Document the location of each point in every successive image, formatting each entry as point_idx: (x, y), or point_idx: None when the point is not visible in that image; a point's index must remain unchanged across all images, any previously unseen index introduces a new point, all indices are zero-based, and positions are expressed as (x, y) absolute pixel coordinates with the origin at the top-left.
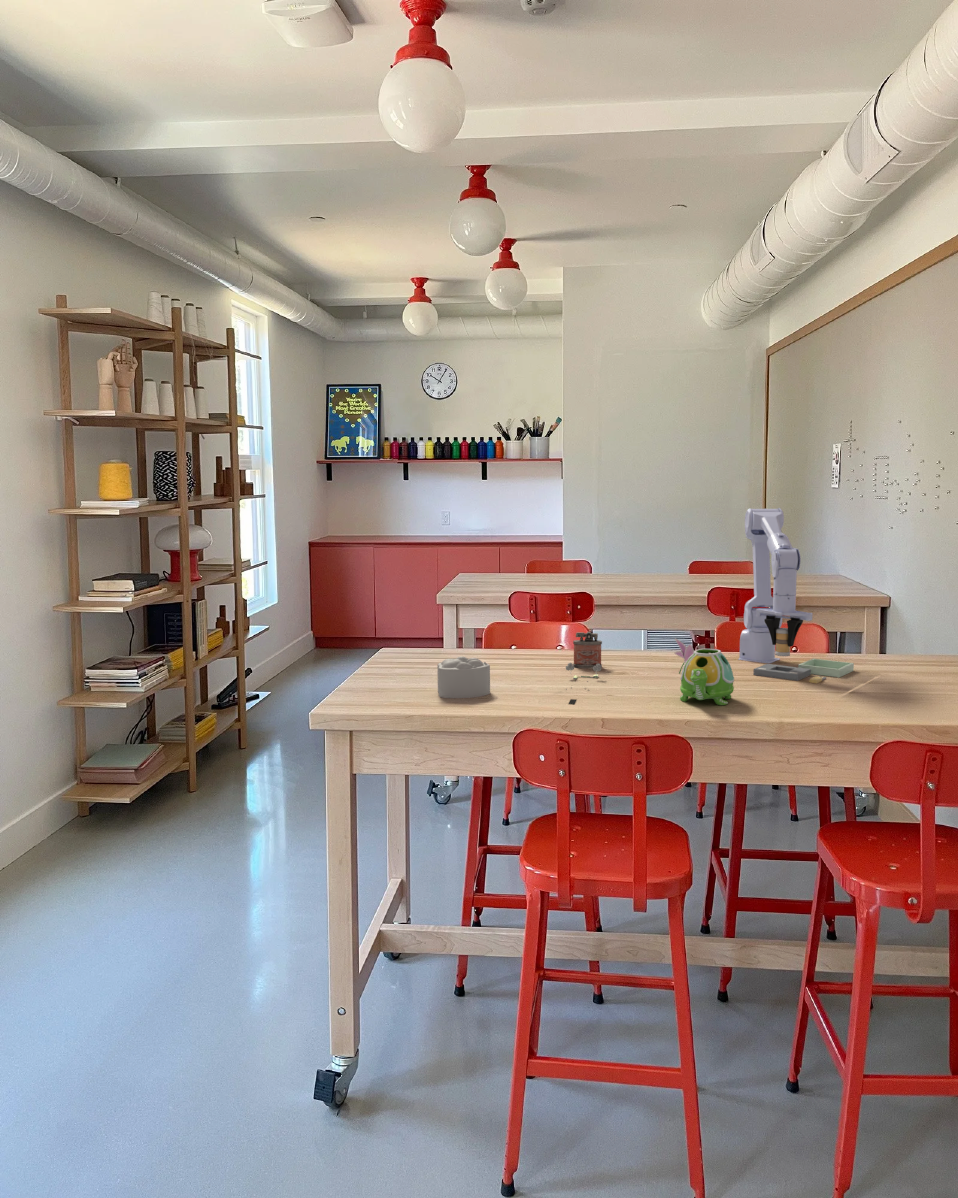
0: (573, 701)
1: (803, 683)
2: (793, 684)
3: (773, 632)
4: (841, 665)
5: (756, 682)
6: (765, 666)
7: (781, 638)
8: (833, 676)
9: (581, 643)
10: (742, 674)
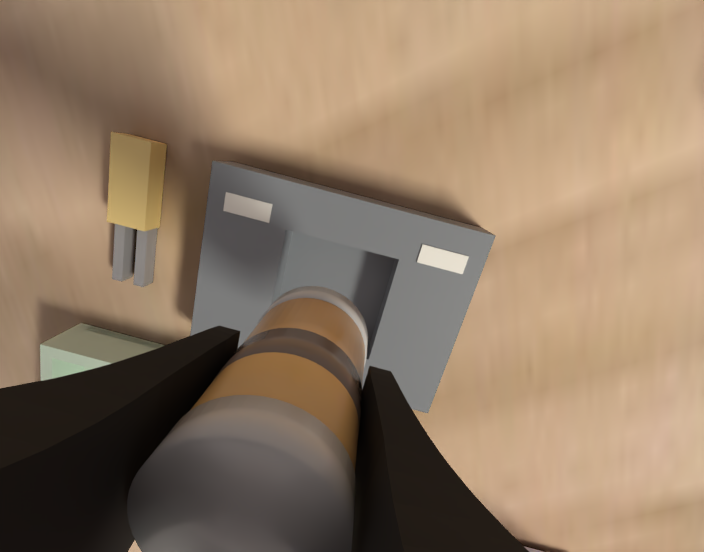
0: None
1: (198, 145)
2: (239, 90)
3: (384, 440)
4: None
5: (450, 50)
6: (430, 335)
7: (279, 359)
8: (101, 333)
9: None
10: (546, 259)
